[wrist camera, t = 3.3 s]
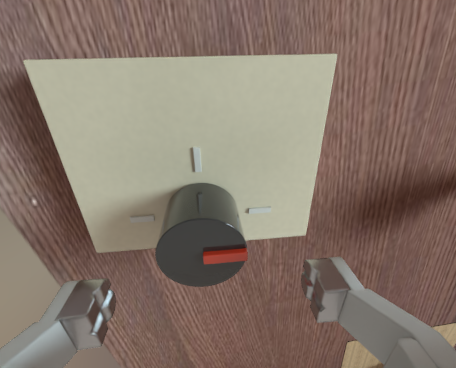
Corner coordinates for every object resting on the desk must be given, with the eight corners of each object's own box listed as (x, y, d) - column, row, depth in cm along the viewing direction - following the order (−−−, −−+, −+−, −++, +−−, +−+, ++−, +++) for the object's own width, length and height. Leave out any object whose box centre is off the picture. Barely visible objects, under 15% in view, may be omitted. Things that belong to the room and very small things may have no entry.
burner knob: (171, 244, 15) (161, 296, 12) (160, 184, 13) (145, 226, 9) (237, 238, 15) (247, 287, 12) (237, 180, 13) (249, 219, 10)
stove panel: (118, 243, 18) (103, 275, 15) (60, 61, 12) (18, 59, 9) (288, 229, 19) (303, 256, 16) (311, 56, 13) (340, 53, 11)
